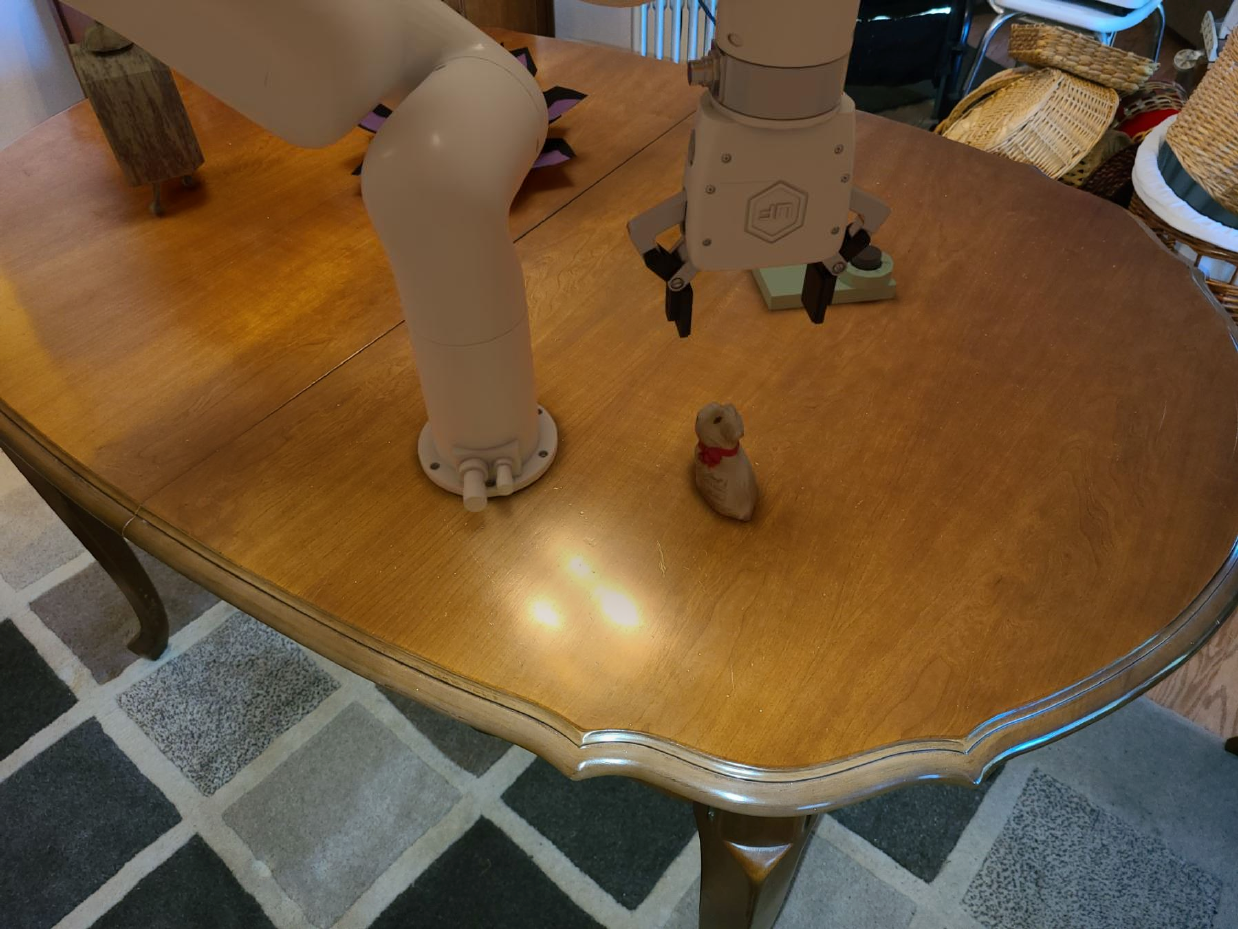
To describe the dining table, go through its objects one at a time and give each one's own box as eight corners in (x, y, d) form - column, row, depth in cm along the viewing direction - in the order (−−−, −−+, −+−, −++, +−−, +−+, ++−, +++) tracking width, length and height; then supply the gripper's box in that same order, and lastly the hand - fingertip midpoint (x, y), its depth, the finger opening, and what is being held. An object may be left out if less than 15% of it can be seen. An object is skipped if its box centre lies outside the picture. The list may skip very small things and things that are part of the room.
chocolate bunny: (752, 455, 76) (766, 371, 69) (756, 523, 71) (772, 439, 63) (691, 453, 76) (698, 368, 69) (691, 519, 71) (698, 436, 64)
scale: (894, 301, 92) (902, 274, 89) (770, 313, 90) (775, 286, 88) (855, 239, 100) (861, 213, 98) (741, 249, 99) (744, 223, 96)
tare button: (883, 270, 90) (886, 258, 89) (856, 273, 90) (859, 260, 89) (873, 255, 92) (876, 243, 91) (847, 257, 92) (849, 245, 91)
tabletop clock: (129, 175, 111) (33, -36, 93) (200, 158, 114) (120, -48, 96) (147, 225, 103) (45, 5, 85) (223, 206, 106) (140, -11, 88)
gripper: (639, 115, 44) (636, 365, 57) (950, 92, 46) (880, 339, 58) (617, 59, 49) (619, 300, 62) (898, 40, 51) (844, 278, 64)
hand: (746, 319), depth 60 cm, fingers open, 9 cm apart
